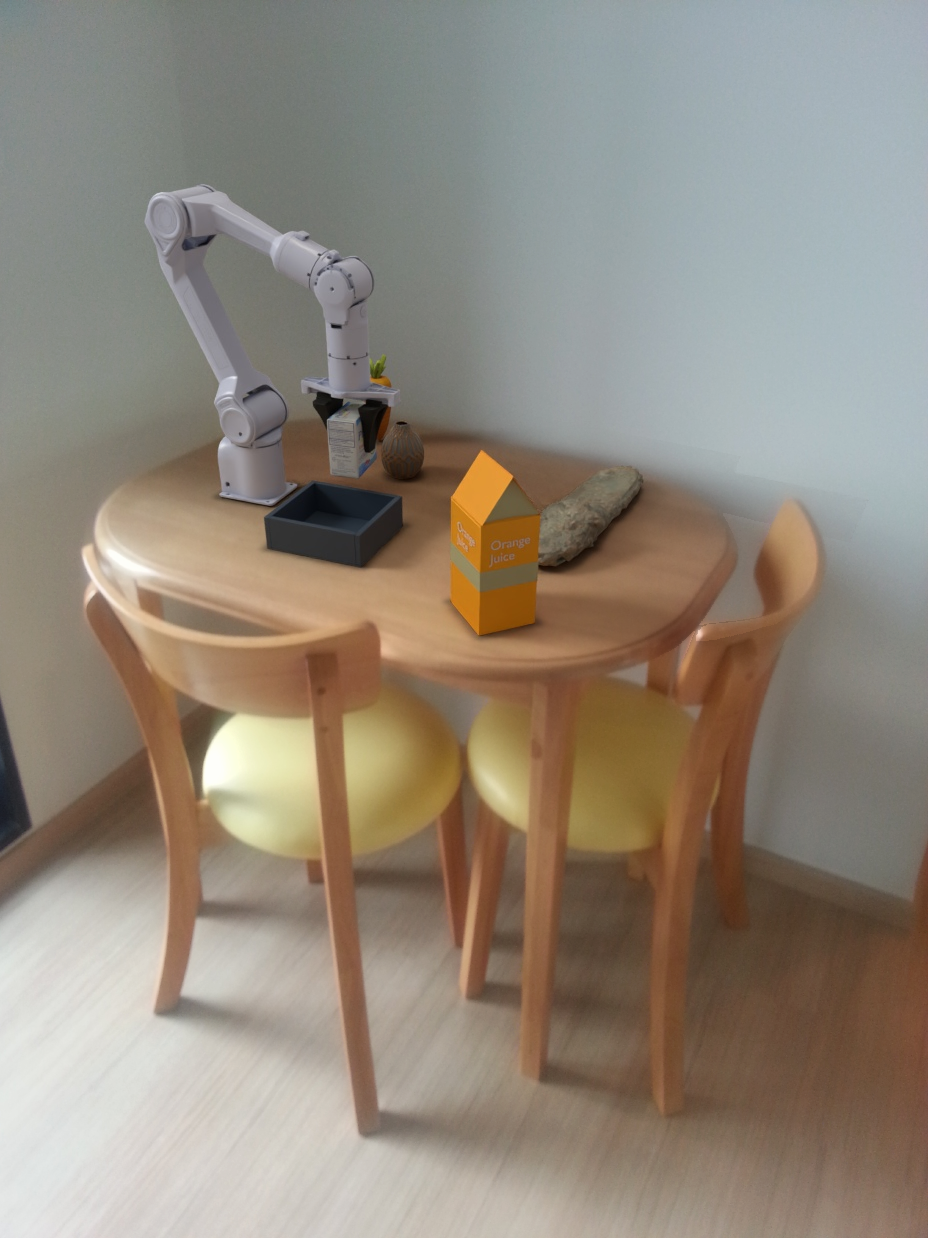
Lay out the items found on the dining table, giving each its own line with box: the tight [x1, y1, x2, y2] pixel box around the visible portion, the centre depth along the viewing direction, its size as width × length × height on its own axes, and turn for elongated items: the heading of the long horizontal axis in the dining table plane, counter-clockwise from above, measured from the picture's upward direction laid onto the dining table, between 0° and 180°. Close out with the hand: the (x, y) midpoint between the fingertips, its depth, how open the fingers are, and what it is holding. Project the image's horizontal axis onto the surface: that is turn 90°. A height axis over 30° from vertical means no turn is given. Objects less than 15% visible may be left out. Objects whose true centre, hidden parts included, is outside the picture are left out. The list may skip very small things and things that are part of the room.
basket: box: [263, 480, 404, 568], centre depth 136 cm, size 15×14×5 cm
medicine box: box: [326, 401, 378, 480], centre depth 137 cm, size 8×4×9 cm, turn 165°
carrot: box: [363, 354, 392, 442], centre depth 165 cm, size 5×5×15 cm
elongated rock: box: [538, 465, 644, 567], centre depth 141 cm, size 35×5×10 cm
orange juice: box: [449, 448, 541, 636], centre depth 115 cm, size 8×9×20 cm
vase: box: [380, 419, 425, 480], centre depth 154 cm, size 7×7×9 cm
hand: (353, 447), depth 138 cm, fingers closed on medicine box, 5 cm apart
